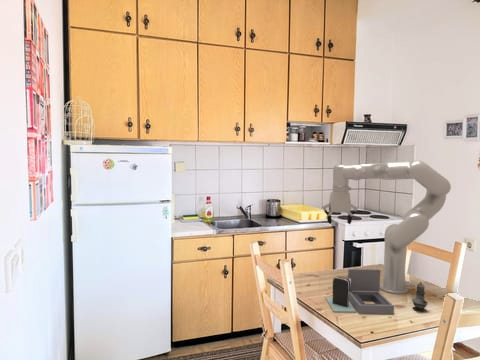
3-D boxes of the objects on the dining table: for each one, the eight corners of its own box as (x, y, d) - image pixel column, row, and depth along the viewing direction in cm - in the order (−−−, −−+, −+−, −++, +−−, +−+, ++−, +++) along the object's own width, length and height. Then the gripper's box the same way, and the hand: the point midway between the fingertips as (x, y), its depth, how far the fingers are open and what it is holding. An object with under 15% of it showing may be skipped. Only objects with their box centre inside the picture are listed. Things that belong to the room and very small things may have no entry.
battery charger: (350, 304, 150) (351, 278, 150) (347, 307, 147) (348, 280, 147) (335, 300, 155) (336, 274, 154) (331, 303, 152) (332, 277, 151)
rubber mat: (345, 299, 158) (345, 297, 158) (355, 312, 144) (355, 311, 144) (325, 298, 158) (325, 297, 158) (333, 312, 144) (333, 310, 144)
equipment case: (378, 298, 159) (379, 269, 158) (393, 314, 143) (395, 281, 142) (347, 298, 159) (348, 268, 158) (359, 313, 143) (360, 281, 142)
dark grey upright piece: (409, 306, 151) (410, 279, 150) (423, 306, 151) (424, 279, 150) (415, 312, 145) (417, 284, 144) (430, 313, 145) (431, 284, 144)
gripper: (355, 189, 180) (354, 222, 181) (321, 188, 180) (320, 222, 181) (360, 190, 172) (359, 225, 173) (324, 190, 172) (323, 224, 173)
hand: (339, 223), depth 177 cm, fingers open, 9 cm apart
